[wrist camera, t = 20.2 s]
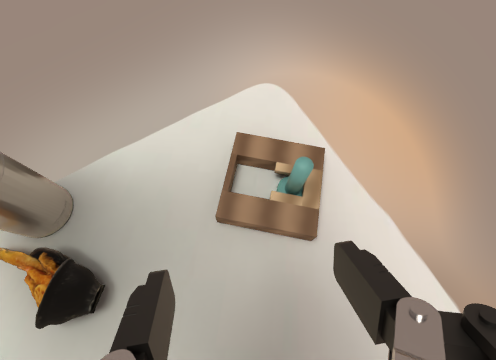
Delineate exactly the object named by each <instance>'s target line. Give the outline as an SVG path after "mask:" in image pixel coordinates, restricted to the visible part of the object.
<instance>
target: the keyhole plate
mask: <svg viewBox="0 0 496 360" xmlns="http://www.w3.org/2000/svg"><path fill="white" fill-rule="evenodd" d="M324 153H325V148H321V147H316V146H310V145H305V144H299V143H294V142H288V141H283V140H277V139H272V138H267V137H261V136H256V135H250V134H245V133H239V132H237V134H236V138H235V142H234V145H233V149H232V153H231V157H230V161H229V165H228V169H227V173H226V177H225V181H224V185H223V189H222V193H221V197H220V201H219V205H218V209H217V212H216V216H215V217H216V220H217V222H220V223H225V224H230V225H235V226H240V227H245V228H250V229H255V230H260V231H265V232H269V233H274V234H279V235H284V236H289V237H294V238H299V239H304V240H309V241H312V240H313V239H314V238H316V237H317V227H318V216H319V206H320V195H321V185H322V174H323V164H324ZM300 157H308V158H309V159H311V160H312V162H313V164H314V167H313V170H312V171H311V173H310V175H309V176H308V178H307V180H306V181H305V183H304V185H303V192H302V197H301V196H296V195H291V194H286V193H281V192H276V191H271V196H270V200H269V199H264V198H259V197H253V196H248V195H243V194H238V193H233V192H231V188H232V184H233V179H234V175H235V171H236V167H237V164H242V165H248V166H253V167H258V168H263V169H269V170H274V171H275V173H279V174H284V175H289V176H290V174H291V171H292V169H293V167H294V164H295V162H296V160H297V159H298V158H300Z"/></svg>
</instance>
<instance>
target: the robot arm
mask: <svg viewBox="0 0 496 360" xmlns="http://www.w3.org/2000/svg"><path fill="white" fill-rule="evenodd" d="M72 208H73V201H72V197H71V195H70V194H69V192H68V191H67V190H66V189H64V188H63V187H61V186H59V185H57V184H56V183H54V182H52V181H50V180H49V179H47V178H45V177H43V176H42V175H40V174H38V173H37V172H35V171H33V170H31V169H30V168H28V167H26V166H24V165H23V164H21V163H19V162H17V161H15V160H14V159H12V158H10V157H8V156H7V155H5V154H3V153H2V152H0V230H3V231H7V232H10V233H14V234H19V235H23V236H27V237H31V238H41V237H46V236H48V235H51V234H53V233H54V232H56V231H58V230H59V229H60V228H61V227H62V226H63V225H64V224H65V223H66V222H67V220H68V219H69V217H70V215H71V212H72ZM333 269H334V275H335V278H336V280H337V282H338V284H339V285H340V287H341V289H342V290H343V292H344V294H345V295H346V297H347V299H348V300H349V302H350V304H351V305H352V307H353V309H354V310H355V312H356V313H357V315H358V317H359V318H360V320H361V322H362V323H363V325H364V327H365V328H366V330H367V332H368V333H369V335H370V337H371V338H372V340H373V342H374V343H375V345H376V344H381V343H386V345H387V346H388V348H389V353H388V360H496V309H495V308H492V307H490V306H487V305H483V304H469V305H467V306H466V307H465V308H464V311H463V314H462V313H452V312H443V311H437V310H436V309H435V308H434V307H433V306H432V305H430V304H429V303H427V302H426V301H423V300H421V299H418V298H414V297H412V296H411V295H410V294H409V293H408V292H407V291H406V290H405V289H404V287H403V286H402V285H401V284H400V283H399V282H398V281H397V280H396V279H395V277H394V276H393V275H392V274H391V273H390V272H388V270H387V269H386V268H385V266H384V265H382V263H381V262H380V261H379V260H378V259H377V258H376V256H374V255H373V254H371V253H369V252H368V251H366V250H359V248H358V247H357V246H356V245H355V244H354V243H353V242H352V241H345V242H339V243H335V246H334V266H333ZM126 307H127V308H126V309H125V312H124V314H123V317H122V320H121V323H120V325H119V328H118V331H117V333H116V336H115V339H114V342H113V344H112V347H111V350H110V352H109V354H107V355H106V356H105V357H103V358H102V359H101V360H167V356H168V350H169V344H170V337H171V331H172V324H173V318H174V312H175V295H174V291H173V287H172V284H171V280H170V276H169V272H168V270H161V271H154V272H150V273H149V275H148V279H147V282H146V285H141V286H138V287H137V288H136V289H135V291H134V292H133V293H132V294H131V296H130V298H129V301H128V303H127V306H126Z"/></svg>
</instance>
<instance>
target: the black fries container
mask: <svg viewBox="0 0 496 360" xmlns="http://www.w3.org/2000/svg"><path fill="white" fill-rule="evenodd" d="M0 260H3V261H5V262H6V263H7V262H8V263H10V264H12V265H15V266H17V268H18V269H22V270H24V271H26V272H27V276H26V277H25V279H24V281H25V282H26V283H27V284H28V286H29V288H30V290H31V293H32V296H33V297H34V299H35V300H36V303H37V306H38V312H37V314H36V322H35V325H36V328H38V329H41V328H44V327H45V326H48V325H58V324H62V323H64V322H67V321H69V320H71V319H73V318H76V317H79V316H82V315H85V314H89V313H94V311H95V308H96V305H97V303H98V301H99V298H100V296H101V294H102V292H103V290H104V287H105V285H101V284H99V283H98V281H97V280H96V279H95V277H94V275H93V273H92V272H91V271H90V270H89V269H87V268H85V267H83V266H81V265H79V264H76V263H75V262H74V261H73V260H72V259H70V258H69V257H67V256H65V255H63V254H62V253H61V252H59V251H56V250H53V249H49V248H37V249H35V250H34V251H33V252H32V253H31V254H30V255H27V254H25V253H23V252H18V251H11V250H9V249H5V248H0Z"/></svg>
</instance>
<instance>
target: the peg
mask: <svg viewBox="0 0 496 360" xmlns="http://www.w3.org/2000/svg"><path fill="white" fill-rule="evenodd" d="M313 167H314V164H313V162H312V160H311V159H309V158H308V157H300V158H298V159H297V160H296V162H295V164H294V167H293V169H292V171H291V174H290V176H287V177H284V178H283V179H282V180H281V181H280V182H279V184H278V187H277V192H281V193H286V194H291V195H296V196H301V197H302V192H303V185H304V183H305V181H306V180H307V178H308V176H309V175H310V173H311V171H312V170H313Z"/></svg>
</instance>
